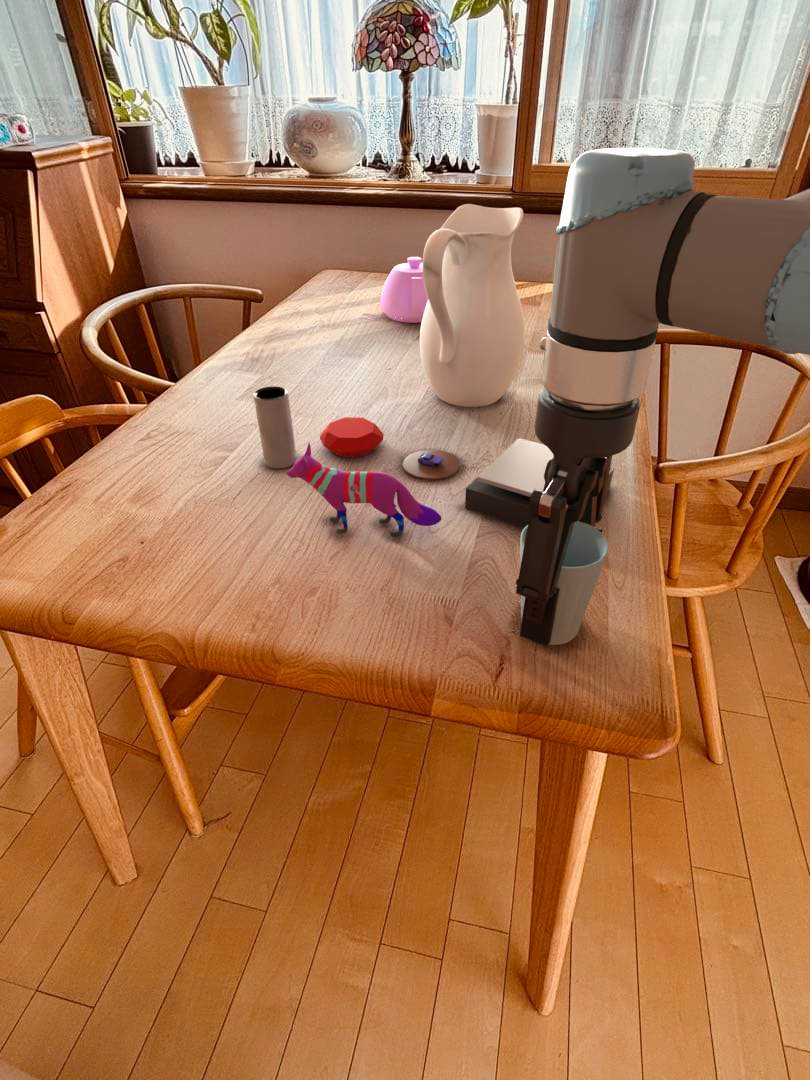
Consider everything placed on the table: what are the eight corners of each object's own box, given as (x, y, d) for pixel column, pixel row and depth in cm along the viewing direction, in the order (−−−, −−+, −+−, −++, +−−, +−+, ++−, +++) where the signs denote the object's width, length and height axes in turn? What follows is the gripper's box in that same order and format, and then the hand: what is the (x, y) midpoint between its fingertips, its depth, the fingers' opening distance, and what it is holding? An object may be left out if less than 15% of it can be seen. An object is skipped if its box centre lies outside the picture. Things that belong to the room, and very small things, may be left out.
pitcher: (449, 368, 116) (454, 200, 99) (534, 386, 109) (555, 208, 92) (378, 417, 100) (370, 225, 83) (472, 442, 92) (484, 237, 76)
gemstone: (390, 454, 90) (390, 435, 88) (330, 465, 87) (328, 446, 86) (372, 428, 97) (371, 410, 95) (316, 437, 94) (314, 419, 93)
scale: (610, 489, 82) (617, 459, 79) (572, 543, 72) (577, 512, 70) (511, 461, 88) (514, 433, 85) (464, 508, 78) (466, 478, 76)
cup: (531, 662, 58) (545, 575, 51) (497, 608, 63) (506, 524, 57) (603, 644, 59) (625, 558, 53) (564, 593, 65) (579, 510, 59)
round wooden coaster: (446, 485, 83) (446, 475, 82) (392, 472, 86) (392, 463, 85) (468, 459, 88) (469, 449, 87) (418, 447, 91) (418, 438, 90)
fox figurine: (297, 516, 77) (286, 441, 71) (442, 522, 76) (444, 447, 70) (289, 533, 74) (278, 457, 68) (440, 540, 73) (442, 463, 67)
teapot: (453, 328, 135) (455, 269, 127) (381, 330, 134) (379, 271, 127) (443, 299, 152) (444, 245, 145) (379, 301, 152) (377, 247, 144)
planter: (294, 451, 91) (285, 384, 85) (298, 466, 87) (289, 397, 81) (263, 455, 90) (252, 388, 84) (266, 471, 86) (254, 401, 80)
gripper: (587, 342, 55) (554, 547, 69) (484, 431, 42) (468, 664, 55) (674, 358, 52) (621, 570, 66) (593, 460, 38) (547, 700, 52)
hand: (551, 613), depth 60 cm, fingers closed on cup, 7 cm apart
